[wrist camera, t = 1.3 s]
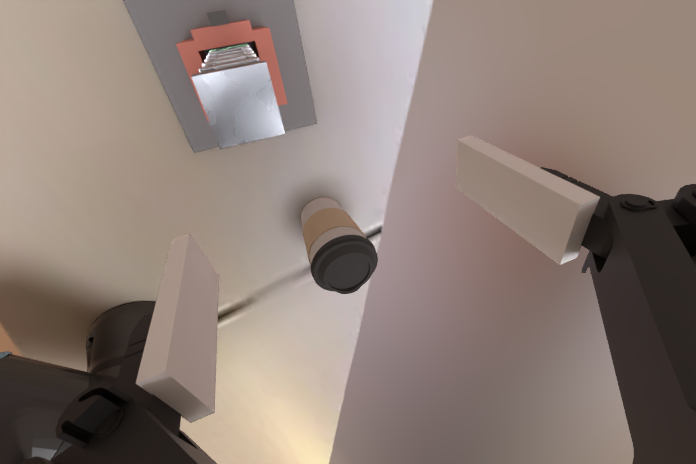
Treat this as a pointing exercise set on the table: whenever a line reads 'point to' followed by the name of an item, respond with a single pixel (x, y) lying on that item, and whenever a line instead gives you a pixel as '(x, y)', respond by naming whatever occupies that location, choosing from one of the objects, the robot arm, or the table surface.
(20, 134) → the table surface
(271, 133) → the column
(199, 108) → the stand
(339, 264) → the coffee cup
